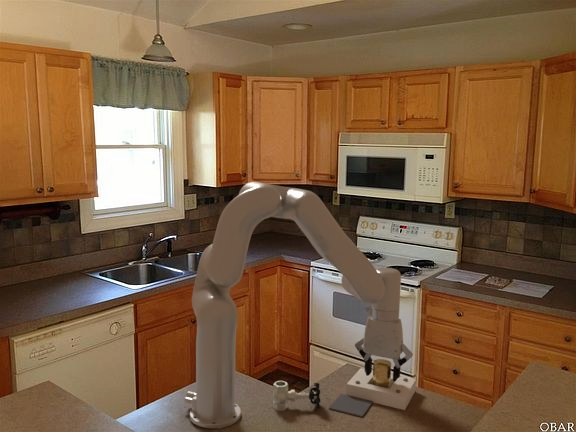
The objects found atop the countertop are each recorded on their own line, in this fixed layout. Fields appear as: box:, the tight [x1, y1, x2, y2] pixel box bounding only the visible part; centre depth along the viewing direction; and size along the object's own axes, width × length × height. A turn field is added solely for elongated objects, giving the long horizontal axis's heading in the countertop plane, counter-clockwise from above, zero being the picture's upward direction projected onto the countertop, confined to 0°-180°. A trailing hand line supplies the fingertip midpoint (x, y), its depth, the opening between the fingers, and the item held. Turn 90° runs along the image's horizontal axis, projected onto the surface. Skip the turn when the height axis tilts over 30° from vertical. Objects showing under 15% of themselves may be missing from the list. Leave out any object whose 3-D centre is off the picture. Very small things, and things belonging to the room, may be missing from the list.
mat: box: [328, 393, 374, 418], centre depth 135 cm, size 9×9×1 cm
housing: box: [345, 367, 417, 411], centre depth 142 cm, size 16×12×4 cm
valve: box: [272, 380, 321, 412], centre depth 134 cm, size 7×7×12 cm
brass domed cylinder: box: [372, 358, 392, 389], centre depth 142 cm, size 5×5×9 cm
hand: (381, 376), depth 142 cm, fingers open, 6 cm apart
